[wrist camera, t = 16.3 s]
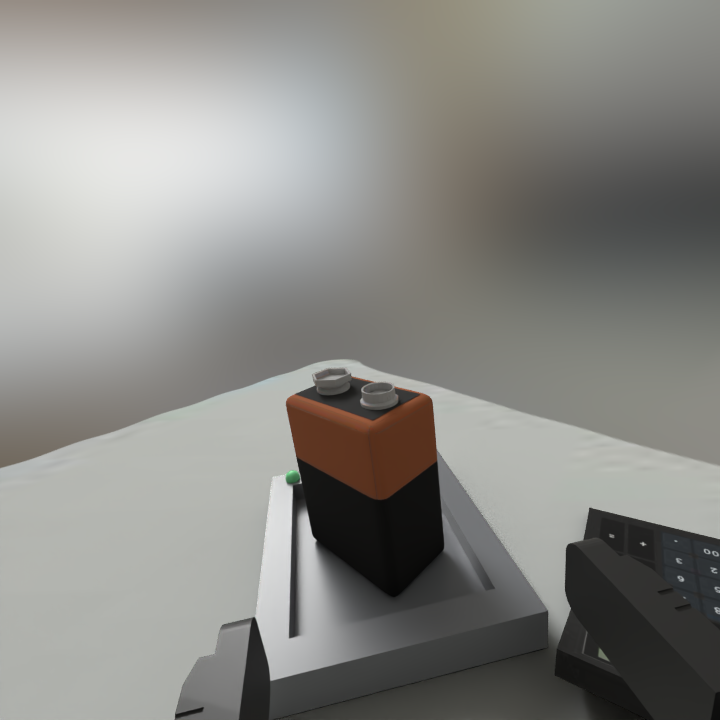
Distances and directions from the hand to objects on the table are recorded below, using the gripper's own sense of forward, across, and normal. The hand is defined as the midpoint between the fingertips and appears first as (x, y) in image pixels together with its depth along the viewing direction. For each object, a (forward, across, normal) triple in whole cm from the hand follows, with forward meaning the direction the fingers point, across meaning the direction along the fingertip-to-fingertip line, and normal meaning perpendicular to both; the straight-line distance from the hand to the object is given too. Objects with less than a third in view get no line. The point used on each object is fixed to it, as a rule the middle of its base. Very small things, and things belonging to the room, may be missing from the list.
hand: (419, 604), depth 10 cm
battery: (+11, 0, +8) cm, 13 cm away
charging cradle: (+16, 0, +8) cm, 18 cm away
